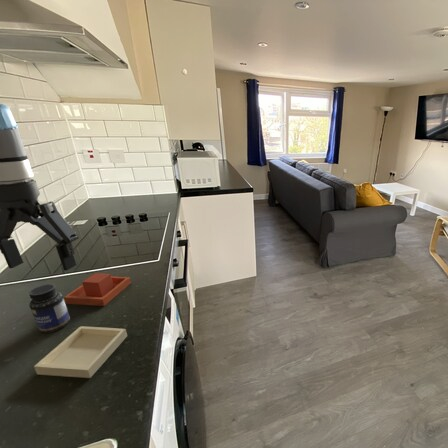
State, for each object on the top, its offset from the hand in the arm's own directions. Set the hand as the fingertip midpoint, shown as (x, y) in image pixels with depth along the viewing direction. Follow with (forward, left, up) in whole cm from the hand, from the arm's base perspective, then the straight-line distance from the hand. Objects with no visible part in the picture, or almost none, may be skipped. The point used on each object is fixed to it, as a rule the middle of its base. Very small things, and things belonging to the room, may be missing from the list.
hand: (43, 266), depth 64 cm
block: (+1, +12, -16) cm, 20 cm away
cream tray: (+15, -10, -16) cm, 24 cm away
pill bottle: (0, -2, -16) cm, 17 cm away
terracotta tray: (+1, +12, -16) cm, 20 cm away
